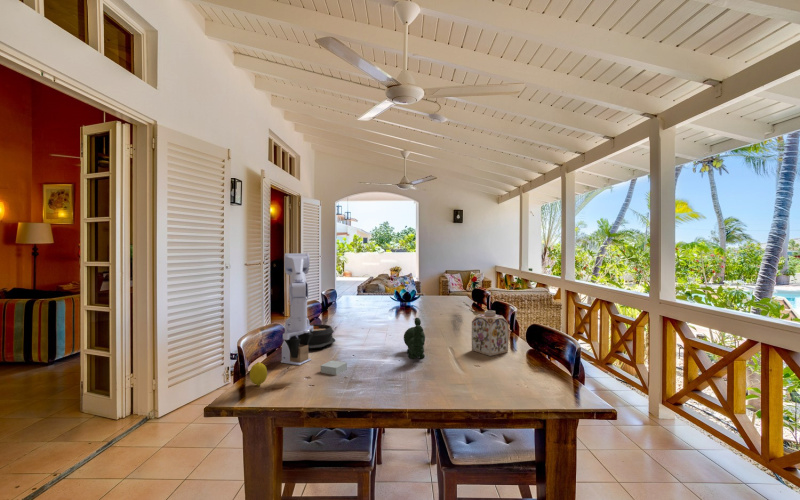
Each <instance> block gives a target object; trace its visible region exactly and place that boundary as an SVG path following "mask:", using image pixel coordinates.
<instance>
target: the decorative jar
mask: <svg viewBox="0 0 800 500" xmlns="http://www.w3.org/2000/svg"><path fill="white" fill-rule="evenodd" d="M471 351H473V352H475V353H476V352H477V353H479V354H482V355H484V356H489V357H491V356H497V355H501V354H505V353H509V322H508V320H507V319H506V318H505V317H504V316H503V315H500V314H496V310H492V309H491V310H485V311H484V313H480V314H477V315H476V316H475V317H474V318H473V319H472V321H471Z"/></svg>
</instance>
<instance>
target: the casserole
mask: <svg viewBox="0 0 800 500" xmlns="http://www.w3.org/2000/svg"><path fill="white" fill-rule="evenodd" d="M310 325H311V326H313V331H310V333H313V336H312V338H311V340H310V342H309V345H308V349H319V348H323V347H325V346H328V345H331V344H334V343H335V342H336V339H335V338H334V337H333V333H334V329H333V328H332V326H331V325H328V324H320V323H317V324H310Z"/></svg>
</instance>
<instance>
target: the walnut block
mask: <svg viewBox="0 0 800 500" xmlns="http://www.w3.org/2000/svg"><path fill="white" fill-rule="evenodd" d="M308 358H309V348H308V345H302V344H299V347H298V357H297V358H292V357H291V354H290V361H291V362H298V363H301V362H304V361H306V360H308Z"/></svg>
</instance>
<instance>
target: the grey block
mask: <svg viewBox="0 0 800 500" xmlns="http://www.w3.org/2000/svg"><path fill="white" fill-rule="evenodd" d="M347 370H348V362H345V361H337V360H333V359H332V360H330V361H328V362H325V363H323V364H320V373H322V374H327V375H332V376H338V375H340V374H341V373H343V372H345V371H347Z"/></svg>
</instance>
